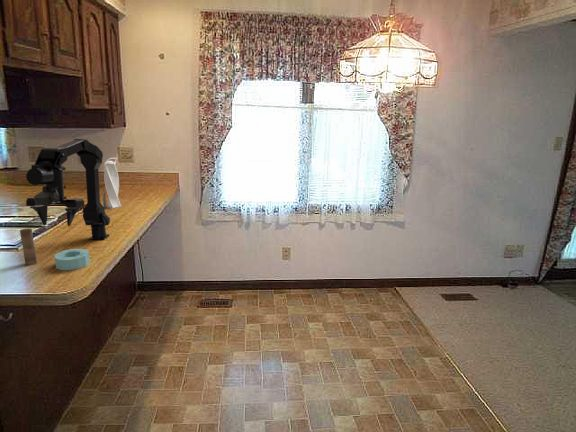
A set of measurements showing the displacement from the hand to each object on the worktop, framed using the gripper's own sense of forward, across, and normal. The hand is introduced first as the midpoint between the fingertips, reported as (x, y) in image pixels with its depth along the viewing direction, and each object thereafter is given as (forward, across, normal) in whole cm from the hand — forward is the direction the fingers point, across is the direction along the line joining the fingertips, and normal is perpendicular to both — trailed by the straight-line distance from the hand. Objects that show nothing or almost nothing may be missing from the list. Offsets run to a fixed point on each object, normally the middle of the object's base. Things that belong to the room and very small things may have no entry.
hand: (57, 225), depth 144 cm
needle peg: (+14, -10, -2) cm, 18 cm away
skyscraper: (+5, -19, +80) cm, 83 cm away
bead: (+14, +6, -1) cm, 15 cm away
